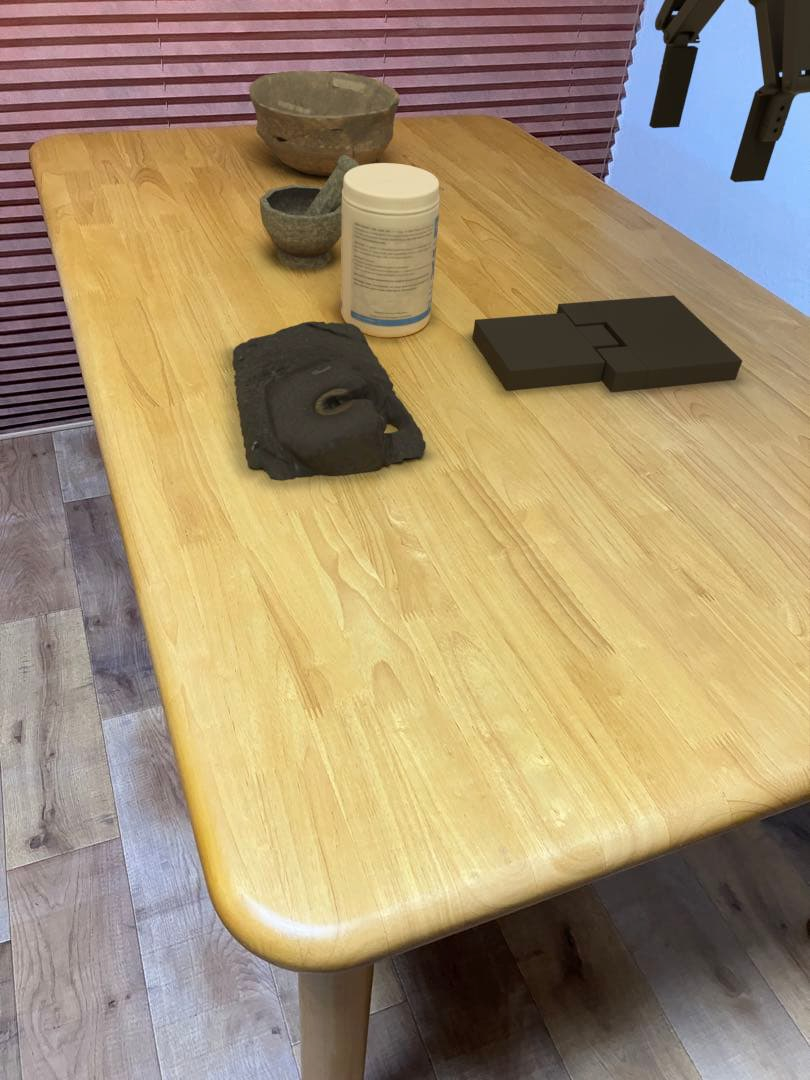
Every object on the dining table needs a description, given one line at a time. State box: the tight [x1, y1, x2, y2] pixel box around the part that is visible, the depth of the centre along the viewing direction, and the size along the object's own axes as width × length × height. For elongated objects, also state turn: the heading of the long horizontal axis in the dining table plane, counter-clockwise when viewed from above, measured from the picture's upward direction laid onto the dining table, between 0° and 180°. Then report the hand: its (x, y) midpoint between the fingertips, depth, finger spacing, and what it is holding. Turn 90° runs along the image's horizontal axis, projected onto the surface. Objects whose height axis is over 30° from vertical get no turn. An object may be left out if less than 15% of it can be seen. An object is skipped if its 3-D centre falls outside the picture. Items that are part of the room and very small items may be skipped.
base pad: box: [556, 294, 743, 393], centre depth 91 cm, size 14×14×2 cm
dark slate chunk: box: [232, 320, 427, 482], centre depth 78 cm, size 15×22×5 cm
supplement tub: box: [340, 162, 441, 339], centre depth 88 cm, size 10×10×15 cm
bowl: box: [248, 69, 401, 177], centre depth 122 cm, size 21×21×10 cm
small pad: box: [471, 312, 619, 392], centre depth 88 cm, size 13×10×2 cm
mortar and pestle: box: [259, 155, 360, 270], centre depth 98 cm, size 11×9×12 cm
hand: (702, 151), depth 75 cm, fingers open, 13 cm apart
